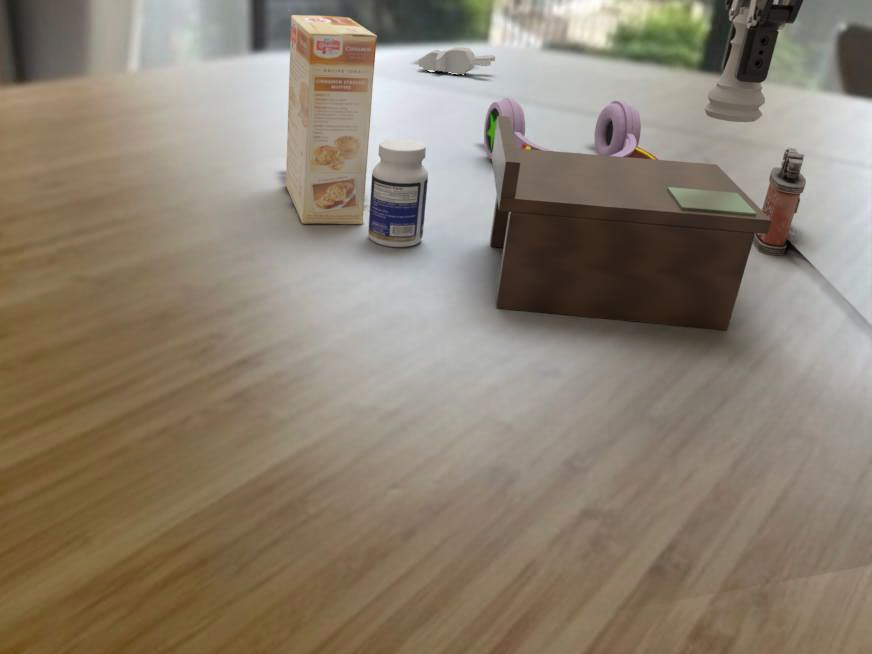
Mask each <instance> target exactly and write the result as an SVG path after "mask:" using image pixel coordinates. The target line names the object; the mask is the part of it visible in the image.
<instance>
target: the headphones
mask: <svg viewBox="0 0 872 654" xmlns="http://www.w3.org/2000/svg"><path fill="white" fill-rule="evenodd" d="M497 116H505V117H510V121H511V125H512V130H513V134H514V138H515V142H516V146H517V148H519V149H531V150H544V151H553V150H551V149H548V148H546V147H543V146H540V145H539V144H536V143H534V142H533V141H531V140H529V139H528V138H527V137H526V118H525V112H524V110H523V108H522V106H521V104H520V103H519V102H517V101H516V100H515V99H514V98H508V97H507V98H502V99H501V100H498V101H494V102H492V103H491V104H490V105H489V107H488V109H487V113H486V116H485V120H484V127H483V141H484V142H483V145H484V150H485V153H486V156H487V158H488V159H490V160H492V152H493V145H494V138H495V130H496V123H497ZM594 128H595V129H594V148H595V151H596V155H605V156H618V157H630V158H642V159H655V160H659V159H658V158H657V157H656V156H655V155H653V154H652V153H651V152H648V150H647V151H646V150H645V149H643V148H641V147H639V144H640V138H641V130H642V122H641V117H640V113H639V111H638V109H637V107H636V106H634V105H633V104H629V103H627V102H626V101H624V100H613V101H611V102H610V103H609V104H607V105H606V106H604V107H603V109H601V111H600V113H599V115H598V116H597V119H596V123H595V127H594Z"/></svg>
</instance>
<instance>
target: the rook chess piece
mask: <svg viewBox="0 0 872 654" xmlns="http://www.w3.org/2000/svg"><path fill="white" fill-rule="evenodd" d="M749 8H750V7H743V8H742V7H741V9H740V13H739V15H738V16H736V17H735V18H734V19H733V20H732V22H733V24H734V26H735V28H736V35H735V37H734V39H733V40H732V41H730V42H731V44H732V49H731V53H730V56H729V59H728V62H727V64H726V67H725V69H724V71H722V74H721V76H720V78H719V80H717V81H716V82H715V83H716V84H715V86H714V87H713V88H711V89H710V90H709V91H708V93H707V99H708V101H709V103H707V104H706V105H704V106H703V109H704V112H705V114H706V116H707V117H709V118H713V119H715V120H720V121H727V122H735V123H754V122H756V121H757V120H759V119H760V118H761V117H762V116H763V112H762V111H761V110H760V109H759V108H761V107H762V106H763V105H764V104H766V97H765V96H764V94H763V92H762V90H763V88H764V87H763V86H762V82H761V83H753V82H741V81H739V80H737V79H736V78H735V70H736V66H737V62H738V58H739V54H740V50H741V46H742V42H743V37H744V33H745V29H746V28H747V22H746V21H747V17H748V13H749ZM747 29H752V28H747Z"/></svg>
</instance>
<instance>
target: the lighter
mask: <svg viewBox="0 0 872 654" xmlns="http://www.w3.org/2000/svg"><path fill="white" fill-rule="evenodd" d="M804 155H805V154H804V153H798V150H797V149H796V148H795V147H794V148H793V147H787V148H786V149H784V153H783V157H782V161H781V165H780V167H779V166H778V167H777V166H776V167H775V166H774V167H773V168H772V169H771V171H770V174H769V178H768V179H769V180H768V181H769V183H768V184H769V185H768V188H767V191H766V195H765V198H764V202H763V205H762V209H761V210H762V211H763V212H764V213H765V214H766V215H767V216H768V217H769V218H770V219H771V220H772V222H771V225H770V229H769V232H768V234H759V233H755V236H754V239H753V243H752V245H753V246H754V247H755V248H756V249H757V251H759V252H760V253H763V254H766V255H772V256H782V255H784V254H785V251H786V248H787V245H788V235H789V232H790V228H791V225H792V222H793V219H794V216H795V215H796V214H797V212H798V210H799V206H800V203H801V197H800V196H801V194H803V193H804V190H805V188H806V184H807V181H806V178H805V176H804V175H803V174H802V173H801V169H802V166H803V163H804V158H805V156H804Z"/></svg>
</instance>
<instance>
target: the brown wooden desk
mask: <svg viewBox="0 0 872 654" xmlns="http://www.w3.org/2000/svg"><path fill="white" fill-rule="evenodd" d="M491 162H492V168H493V169H492V170H493V177H494V185H495V190H496V191H495V192H496V195H495V196H496V197H495V203H494V210H493V215H492V217H493V218H492V224H491V232H490V239H489V245H490V246H489V247H492V248H503V249H502V256H501V260H500V261H501V262H500V269H499V275H498V281H497V288H496V294H495V295H496V297H495V308H496V309H500V310H501V309H502V310H512V311H523V312H534V313H542V314H543V313H545V314H554V315H563V316H564V315H566V316H573V317H574V316H575V317H586V318H595V319H596V318H597V319H607V320H618V321H626V322H637V323H649V324H657V325H658V324H659V325H668V326H669V325H670V326H679V327H690V328H700V329H701V328H702V329H709V330H710V329H711V330H720V331H721V330H722V331H727V330H729V326H730V322H731V319H732V315H733V312H734V309H735V305H736V301H737V298H738V296H739V295H738V294H739V291H740V288H741V284H742V280H743V277H744V273H745V271H746V267H747V263H748V260H749V256H750V252H751V250H752V246H753V239H754V236H755V233H759V234H768V232H769V229H770V225H771V222H772V220H771V219H770V218H769V217H768V216H767V215H766V214H765V213H764V212H763V211H762V209H761V208H760V206H758V205H757V204H756V203H755V202H754V201H753V200H752V198H751V197H749V196H748V195H747V193H745V191H743V190H742V189H741V188H740V187H739V185H737V184H736V182H735V181H734V180H733V179H732V178H731V177H730V176H729V175H727V173H726V172H724V170H723V169H722V168H721V167H720V166H719V165H718V164H715V163H703V162H692V161H691V162H690V161H680V160H679V161H677V160H665V159H658V160H655V159H642V158H630V157H618V156H605V155H598V154H591V153H581V152H568V151H567V152H566V151H557V150H556V151H555V150H552V151H544V150H531V149H519V148H517V146H516V142H515V138H514V134H513V130H512V125H511V121H510V117H505V116H497V123H496V130H495V138H494V145H493V152H492V159H491Z"/></svg>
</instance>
